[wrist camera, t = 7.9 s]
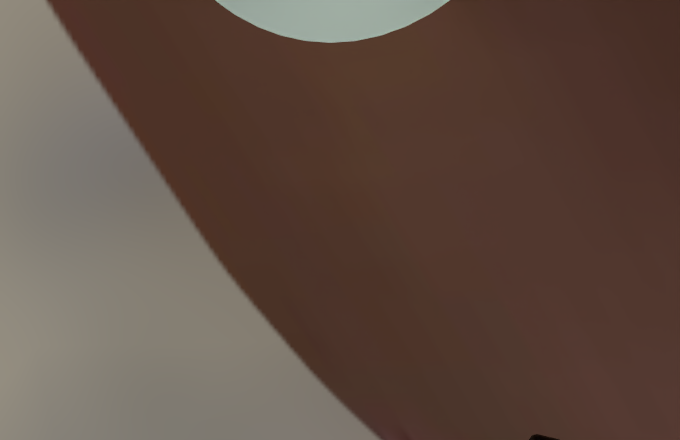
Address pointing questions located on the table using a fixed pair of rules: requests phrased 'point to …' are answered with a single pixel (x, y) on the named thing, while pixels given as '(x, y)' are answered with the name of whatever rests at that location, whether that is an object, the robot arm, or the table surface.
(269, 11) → the lid
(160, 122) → the table surface
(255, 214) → the table surface
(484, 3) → the table surface
